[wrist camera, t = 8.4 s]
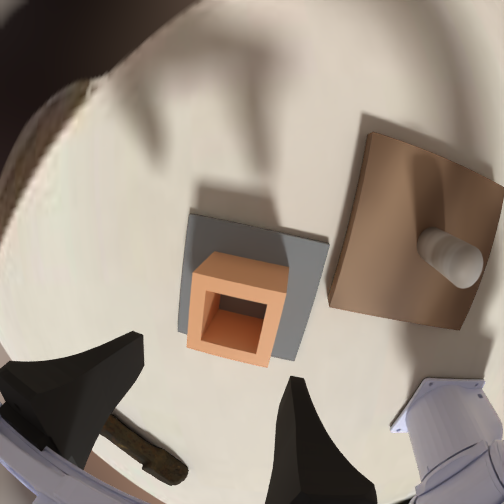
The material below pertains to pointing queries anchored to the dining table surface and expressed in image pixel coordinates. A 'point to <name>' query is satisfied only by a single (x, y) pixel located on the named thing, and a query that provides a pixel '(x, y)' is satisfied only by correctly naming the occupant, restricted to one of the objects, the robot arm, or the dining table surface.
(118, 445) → the hand tool
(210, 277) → the hollow square tube
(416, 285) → the post block
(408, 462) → the dining table surface
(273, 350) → the pad
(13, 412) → the robot arm
